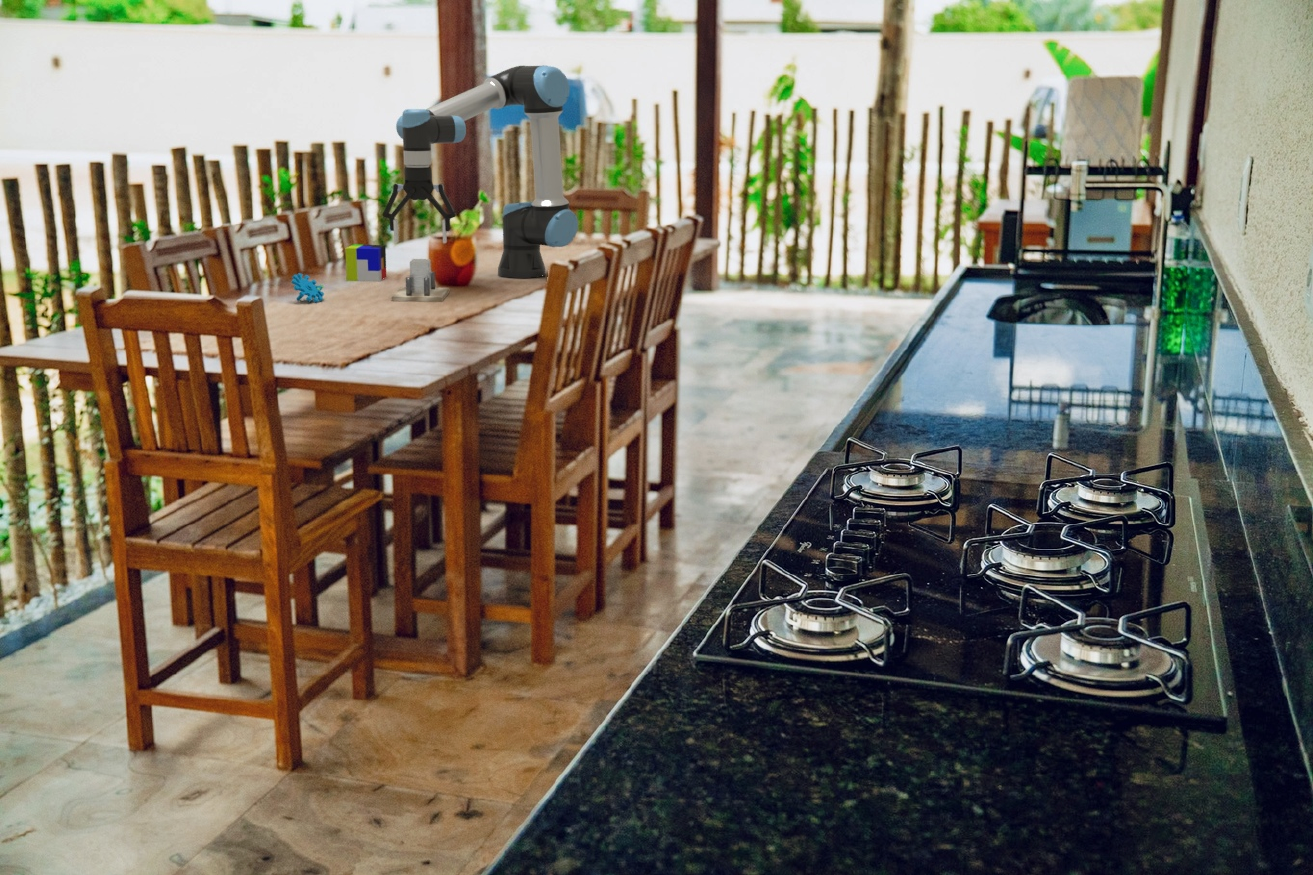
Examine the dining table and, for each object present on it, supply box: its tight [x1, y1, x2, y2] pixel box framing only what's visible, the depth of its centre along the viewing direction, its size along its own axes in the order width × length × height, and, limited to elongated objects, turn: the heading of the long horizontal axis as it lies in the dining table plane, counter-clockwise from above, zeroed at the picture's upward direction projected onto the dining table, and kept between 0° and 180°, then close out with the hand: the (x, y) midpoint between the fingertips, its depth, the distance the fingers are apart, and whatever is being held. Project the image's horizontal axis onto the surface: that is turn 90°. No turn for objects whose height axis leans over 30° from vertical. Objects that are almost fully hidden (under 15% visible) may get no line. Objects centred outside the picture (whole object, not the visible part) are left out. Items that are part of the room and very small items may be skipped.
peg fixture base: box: [390, 270, 450, 303], centre depth 376 cm, size 14×18×6 cm
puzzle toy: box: [344, 243, 387, 282], centre depth 407 cm, size 10×10×10 cm
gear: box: [290, 272, 325, 304], centre depth 365 cm, size 11×6×10 cm
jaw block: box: [409, 258, 432, 294], centre depth 376 cm, size 5×7×9 cm
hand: (420, 242), depth 374 cm, fingers open, 13 cm apart
